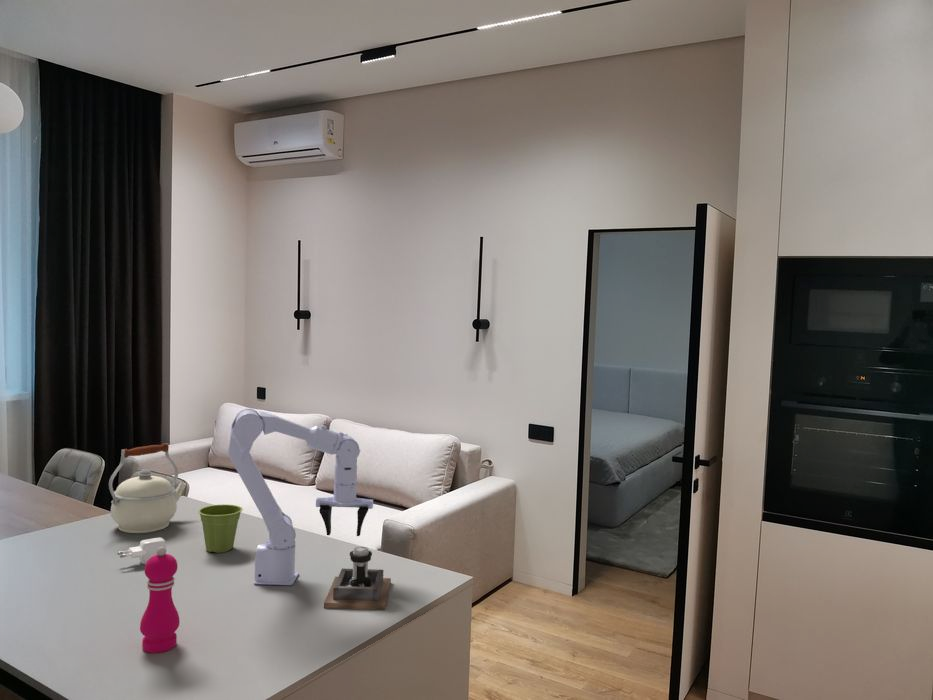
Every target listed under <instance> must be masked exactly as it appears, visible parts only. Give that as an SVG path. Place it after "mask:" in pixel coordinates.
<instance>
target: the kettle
mask: <svg viewBox="0 0 933 700" xmlns="http://www.w3.org/2000/svg"><path fill="white" fill-rule="evenodd" d="M169 446H170V445H169V443H166V442H165V443H162V444H151V445H144V446H137V447H133V448H131V449H127V448H124V449H121V451H120V452H121V454H120V455H121V457H120V458H121V459H120V462H119V465H118V466H117V467H116V468H115V470H114V471H113V473H112V474H111V475H110V478H109V481H108V489H109V493H110V494H111V497H112V500H111V502H110V503H111V506H110V515H111V518H112V520H113V521H114V523H116V524H117V525H118V530H119V531H121V532H123V533H127V534H147V533H154V532H158V531H161V530H164V529H166V528H168V526H169V525H170V520H171V519H172V518H174V516H175V514H176V512H177V507H178V506H177V505H178V502H179V500H180V498H181V496H182V494H183V491H184V490H185V487H186V485H187V483H185V482H180V483H179V484H178V486H177V487H175V486H176V483H177V480H178V477H179V468H178V465H177V464H176V463H175V462H174V460H173V459H172V458H171V457H170V455H169V454H170V453H169ZM159 452H160V453H161V452H163V453H164V454H165V457H166V458H167V460H168V461H169V463H171V464H172V465H171V466H173V468H174V476H173V479H172V482H171V481H170V480H168V479H167V478H164V477H162V476H158V475H157V476H155V475H153V472H152V471H151V470H150V469H147V468H143V469H141V470H140V471H139V472H138V473H137V475H138V476H135V477H131V478H127V479H125V480H124V481H122V482H121V483H120V484H119V485H118V486H117V487H116V490H114V488H113V487H114V486H113V482H114V479H115V477H116V476H117V474H118V472H119V471H120V470H121V469H122V467H123V466H124V463H125V459H127V458H128V457H138V456H145V455H151V454H152V455H153V454H158V453H159Z"/></svg>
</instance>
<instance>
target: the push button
mask: <svg viewBox="0 0 933 700" xmlns="http://www.w3.org/2000/svg"><path fill="white" fill-rule="evenodd" d="M372 555H373V552H372V550H371V551H370V550H369V548H368V547H366V546H356V547H354V548H353V549H352V551H350V552H349V556H350V558H349V559H350V561H351V562H352V569H353V577H352V579H351V580H350V581H349V582H350V583H349V585H348V586H355V587H371V580H370V579H369V578H368V575H367V573H368V569H369V567H368V566H369V565H368V564H369V562H370V561H371V560H372Z"/></svg>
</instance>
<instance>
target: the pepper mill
mask: <svg viewBox="0 0 933 700" xmlns="http://www.w3.org/2000/svg"><path fill="white" fill-rule="evenodd" d="M166 548H167V547H166ZM166 548H164V547H160V548H158V549H157V555H154V556H152V557H151V558H150V559H149V560H148V561H147V562H146V565H144V575H145V576H146V578H147V580H146V588H147V589H148V592H149V596H148V597H149V598H148V603H147V607H146V608H145V611H144V612H143V614H142V617H141V620H140V624H139V631H140V633H141V634H142V636H144V637H142V640H141V647H142V650H143V651H144V652H146V653H149V654H150V653H151V654H152V653H153V654H158V653H163V652H167V651H169V650H172V649H173V648H174V647H175V646H176V645H177V643H178V642H177V640H178V639H177V637H178V636H177V633H176V631H177V630H178V629H179V627H180V616H179V612H178V610H177V608H176V606H175V604H174V600H173V597H172V595H173V594H172V590H173V587H174V586H175V577H174V575H175V574H176V573H177V571H178V561H177V559H176V558H175V557H174V556H173V555H171V554H169V553H167V549H166Z"/></svg>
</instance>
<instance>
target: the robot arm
mask: <svg viewBox="0 0 933 700" xmlns="http://www.w3.org/2000/svg"><path fill="white" fill-rule="evenodd" d="M232 421H233V422H232V423H231V429H230V436H229V440H228V441H229V443H228V449H227V450H228V451H227V453H228V457H229V459H230V462H231V463H232V465H233V466H234V468H235V471H237V473H238V475H239V478H240V479H241V480H242V483H243V484H244V486H245V488H246V490H247V492H248V493H249V495H250V497H251V498H252V500H253V503H254V505H255V506H256V508H257V510H258V511H259V513H260V515H261V517H262V519H263V522H264V525H265V527H266V529H267V532H268V536H269V537H268V539H267V541H266V542H265V543H259V544H258V545H257V547H256V549H255V557H254V559H255V560H254V580H253V584H254V585H269V586H270V585H271V586H273V585H274V586H292V585H293V584H294V583H295V581H296V579H297V578H298V577H299V574H300V573H299V571H296V567H295V566H296V535H297V534H296V529H295V528H294V525H293V520H292V518H291V517H290V516H288V514H285V513H284V512H283V510H282V508H281V506H280V505H279V504H278V502H277V501H276V498H275V497H274V495H273V493H272V491H271V489H270V488H269V485H268V484H267V482H266V481H265V479H264V477H263V475H262V473H261V471H260V469H259V468H258V466H257V464H256V462H255V460H254V458H253V456H252V455H251V453H250V452H251V449H252V447H253V444H254V442H255V441H256V440H257V439H258V438H259V436H260V435H261V434H262V432H263V435H269V434H273V433H275V432H276V433H280V434H283V435H286V436H289V437H293V438H296V439H299V440H303V441H305V443H306V445H307V446H308V448H310V449H312V450H316V451H320V452H322V453H326V454H329V455H331V456H333V455H335V463H334V475H333V476H334V479H333V496H329V497H328V496H327V497H317V498H316V499H315V507H316V508H319V509H318V510H319V514H320V516H321V518H322V520H323V522H324V527H325V531H326V536H331V534H332V511H333V510H332V508H333V507H334V508H335V507H336V508H358V510H357V511H356V513H357V527H356V537H360V536H361V532H362V527H363V523H364V521H365V517H366V516H367V513H368V511H369V509H370V510H371V509H373V508H374V499H372V498H371V499H370V498H361V497H357V483H358V477H357V476H358V465H357V463H358V457H359V456H360V452H361V449H360V445H359V443H358V441H356V440H355V439H354V438H353V437H352V436H350V435H348V434H347V433H343V432H342V431H339V432H336V431H333V430H330V429H327V426H326V425H324V424H320V426H319V425H315V426H313V427H308V426H307V427H306V426H304V425H301V424H299V423H296V422H294V421H291V420H289V419H286V418H284V417H281V416H278V415H276V414H272V413H269V412H266V411H261V410H259V411H257V410H255V409H253V408H244V409H242V410H240V411H239V412H237V414H236V416H235V418H234V419H233V420H232Z"/></svg>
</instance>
